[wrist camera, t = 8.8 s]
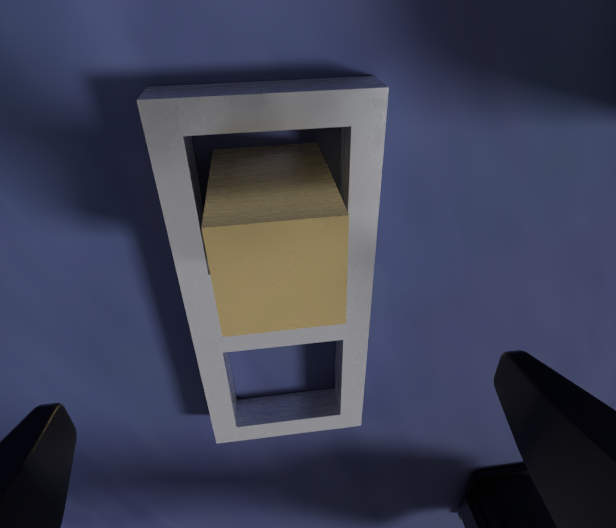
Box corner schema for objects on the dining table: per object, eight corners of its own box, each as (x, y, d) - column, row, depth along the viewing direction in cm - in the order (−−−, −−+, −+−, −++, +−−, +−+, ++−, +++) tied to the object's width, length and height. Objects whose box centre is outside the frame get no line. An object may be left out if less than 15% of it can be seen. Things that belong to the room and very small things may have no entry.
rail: (374, 75, 16) (388, 87, 14) (354, 399, 26) (361, 425, 24) (146, 86, 15) (136, 100, 13) (217, 415, 25) (216, 443, 24)
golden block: (317, 142, 17) (349, 215, 12) (318, 231, 19) (345, 323, 14) (212, 149, 17) (201, 227, 12) (226, 239, 19) (222, 337, 14)
